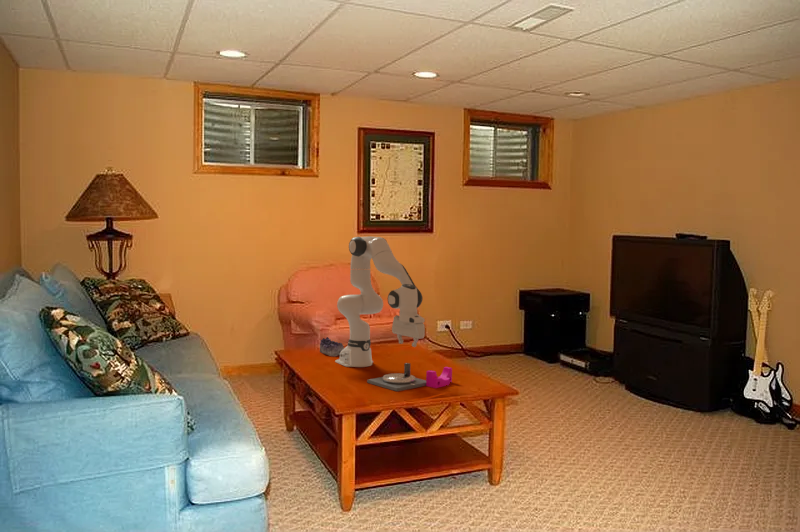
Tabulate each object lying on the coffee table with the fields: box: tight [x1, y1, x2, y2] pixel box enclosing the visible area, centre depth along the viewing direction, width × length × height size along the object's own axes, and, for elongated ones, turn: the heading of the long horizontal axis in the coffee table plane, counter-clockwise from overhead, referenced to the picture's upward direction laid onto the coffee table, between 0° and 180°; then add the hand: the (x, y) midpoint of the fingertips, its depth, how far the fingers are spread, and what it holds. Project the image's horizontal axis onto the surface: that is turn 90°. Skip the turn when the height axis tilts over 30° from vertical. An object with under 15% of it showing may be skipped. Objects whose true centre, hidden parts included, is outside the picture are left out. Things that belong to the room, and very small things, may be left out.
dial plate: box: [366, 376, 427, 392], centre depth 322 cm, size 22×22×2 cm
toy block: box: [425, 366, 453, 389], centre depth 322 cm, size 15×6×8 cm, turn 136°
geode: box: [319, 336, 345, 357], centre depth 391 cm, size 20×12×10 cm, turn 39°
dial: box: [382, 362, 416, 384], centre depth 322 cm, size 16×16×8 cm
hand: (407, 345), depth 325 cm, fingers open, 8 cm apart
